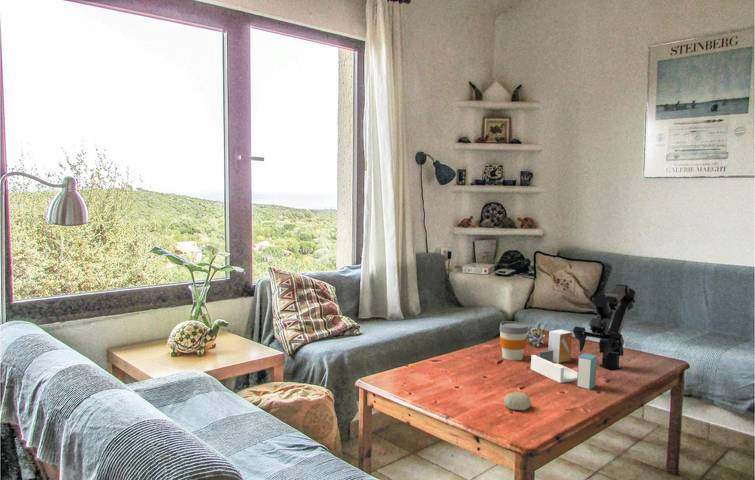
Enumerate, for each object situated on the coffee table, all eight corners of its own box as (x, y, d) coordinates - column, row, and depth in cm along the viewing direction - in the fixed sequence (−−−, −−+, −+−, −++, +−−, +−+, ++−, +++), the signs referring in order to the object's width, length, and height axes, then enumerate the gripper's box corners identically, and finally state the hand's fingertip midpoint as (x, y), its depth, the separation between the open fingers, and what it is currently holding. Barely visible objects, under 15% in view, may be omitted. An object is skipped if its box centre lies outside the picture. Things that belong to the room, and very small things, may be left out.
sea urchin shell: (497, 396, 204) (514, 381, 204) (512, 411, 205) (528, 396, 205) (505, 406, 195) (522, 390, 195) (521, 422, 196) (537, 406, 196)
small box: (558, 363, 249) (560, 334, 248) (547, 359, 255) (548, 331, 253) (570, 360, 254) (572, 332, 252) (559, 356, 259) (560, 328, 258)
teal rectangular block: (582, 382, 225) (583, 353, 224) (595, 385, 222) (596, 355, 221) (576, 386, 221) (578, 356, 220) (589, 389, 218) (591, 359, 216)
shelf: (556, 365, 247) (557, 347, 246) (587, 378, 230) (588, 359, 230) (530, 369, 241) (531, 350, 240) (560, 382, 225) (561, 363, 224)
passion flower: (536, 357, 276) (532, 341, 269) (518, 348, 284) (513, 332, 277) (550, 342, 280) (546, 325, 274) (532, 333, 288) (527, 317, 281)
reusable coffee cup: (530, 356, 259) (532, 323, 258) (521, 363, 249) (523, 329, 247) (503, 351, 266) (505, 320, 264) (494, 358, 255) (495, 325, 254)
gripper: (575, 306, 233) (564, 338, 225) (623, 313, 221) (612, 347, 214) (581, 322, 240) (570, 353, 232) (628, 329, 228) (618, 363, 221)
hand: (592, 354), depth 225 cm, fingers open, 9 cm apart
